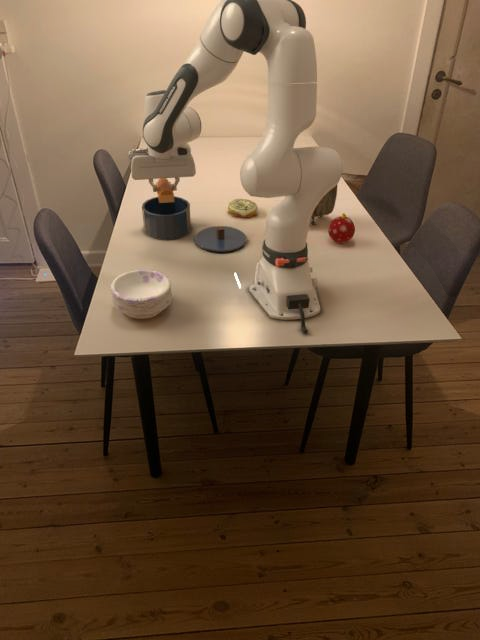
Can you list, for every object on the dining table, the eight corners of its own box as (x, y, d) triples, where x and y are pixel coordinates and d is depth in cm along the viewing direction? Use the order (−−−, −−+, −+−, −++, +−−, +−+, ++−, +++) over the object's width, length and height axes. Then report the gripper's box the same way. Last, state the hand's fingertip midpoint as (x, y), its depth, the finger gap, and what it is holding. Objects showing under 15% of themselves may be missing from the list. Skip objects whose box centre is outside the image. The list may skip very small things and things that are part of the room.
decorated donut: (246, 221, 171) (246, 211, 169) (222, 213, 176) (222, 204, 173) (262, 211, 178) (263, 202, 175) (238, 204, 183) (238, 194, 180)
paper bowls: (174, 292, 135) (172, 268, 130) (170, 326, 123) (167, 300, 118) (119, 292, 134) (115, 267, 129) (109, 326, 122) (104, 300, 117)
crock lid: (251, 251, 154) (251, 237, 152) (199, 255, 151) (198, 242, 148) (240, 227, 167) (240, 214, 165) (191, 231, 164) (191, 218, 161)
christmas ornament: (333, 249, 157) (337, 220, 151) (322, 236, 163) (326, 209, 157) (357, 246, 159) (362, 217, 153) (345, 234, 165) (350, 206, 159)
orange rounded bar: (174, 202, 154) (173, 190, 152) (159, 203, 154) (158, 191, 151) (170, 188, 163) (170, 176, 160) (156, 189, 162) (155, 177, 160)
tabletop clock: (323, 214, 177) (333, 145, 162) (334, 225, 170) (345, 154, 155) (286, 219, 173) (292, 149, 158) (296, 230, 166) (304, 158, 151)
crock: (194, 237, 161) (193, 213, 156) (145, 241, 158) (143, 217, 153) (187, 217, 173) (186, 194, 168) (142, 220, 170) (140, 197, 165)
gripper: (127, 152, 144) (132, 196, 153) (195, 149, 148) (197, 192, 157) (126, 145, 149) (131, 188, 158) (192, 142, 153) (194, 184, 162)
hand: (164, 190), depth 157 cm, fingers closed on orange rounded bar, 5 cm apart
